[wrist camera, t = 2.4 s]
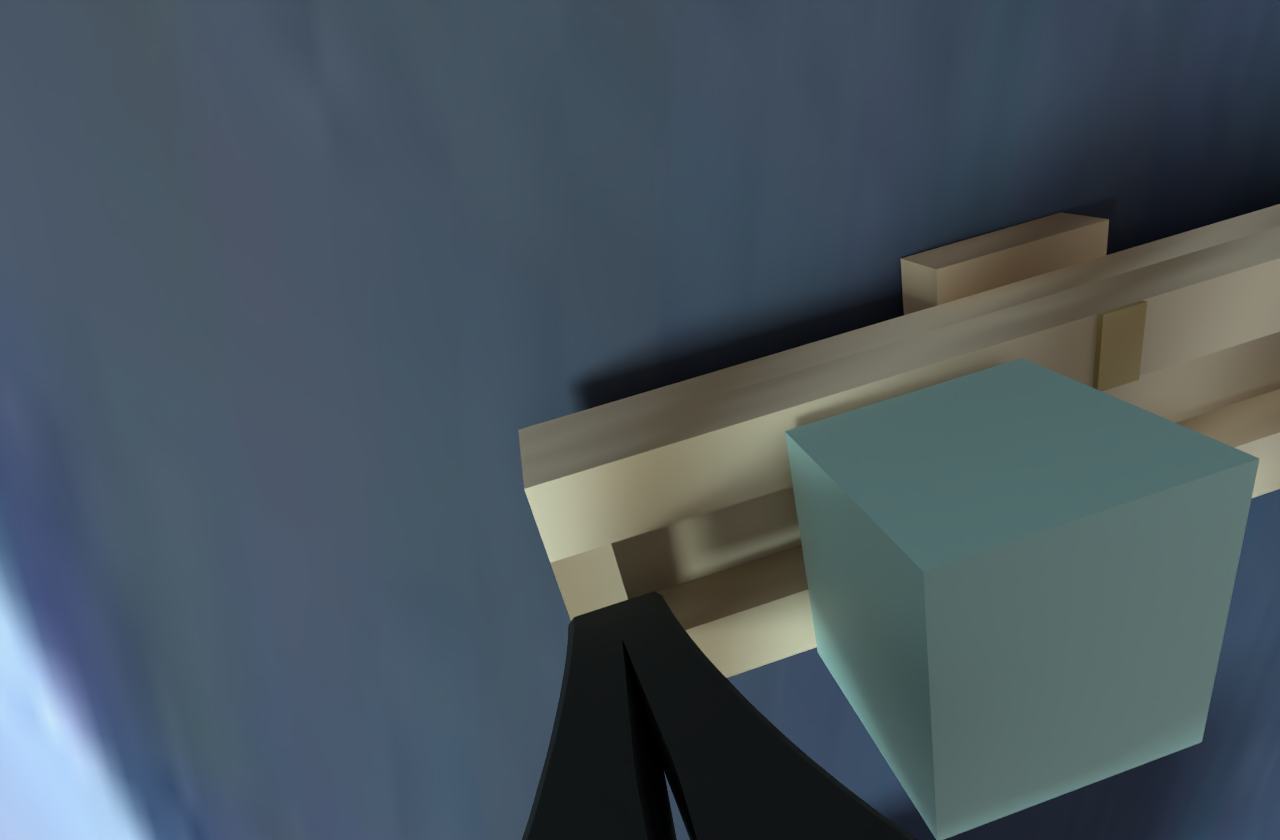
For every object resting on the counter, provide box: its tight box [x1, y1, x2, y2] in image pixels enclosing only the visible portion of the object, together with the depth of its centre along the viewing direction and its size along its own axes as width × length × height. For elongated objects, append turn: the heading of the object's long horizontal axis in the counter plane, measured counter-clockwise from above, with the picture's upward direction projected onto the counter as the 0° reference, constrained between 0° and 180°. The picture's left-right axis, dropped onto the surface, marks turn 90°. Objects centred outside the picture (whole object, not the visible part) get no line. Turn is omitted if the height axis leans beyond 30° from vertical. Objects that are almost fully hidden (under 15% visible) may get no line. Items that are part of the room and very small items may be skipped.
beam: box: [518, 204, 1280, 678], centre depth 13 cm, size 20×6×4 cm, turn 103°
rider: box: [785, 358, 1260, 840], centre depth 10 cm, size 4×5×5 cm
